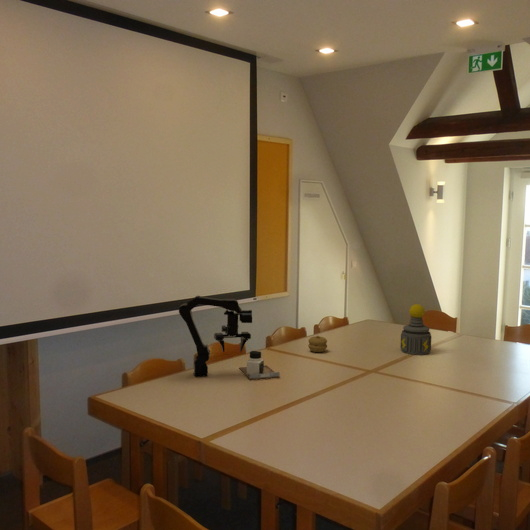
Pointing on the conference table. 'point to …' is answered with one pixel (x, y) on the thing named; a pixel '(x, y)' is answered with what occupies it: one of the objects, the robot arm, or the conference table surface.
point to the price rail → (264, 375)
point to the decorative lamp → (416, 334)
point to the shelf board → (266, 369)
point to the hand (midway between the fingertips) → (232, 352)
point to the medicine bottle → (255, 363)
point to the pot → (317, 344)
